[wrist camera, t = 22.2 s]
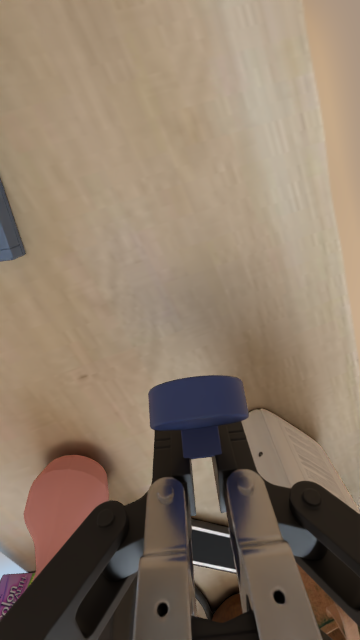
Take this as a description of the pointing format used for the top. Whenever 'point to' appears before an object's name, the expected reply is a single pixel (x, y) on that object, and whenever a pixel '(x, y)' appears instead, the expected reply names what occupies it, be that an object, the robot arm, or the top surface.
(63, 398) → the top surface
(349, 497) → the white rounded block
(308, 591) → the mug
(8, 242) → the blue tray
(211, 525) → the cell phone
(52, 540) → the pink round bulbous container
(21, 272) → the top surface
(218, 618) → the potato
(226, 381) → the blue bar with disc
